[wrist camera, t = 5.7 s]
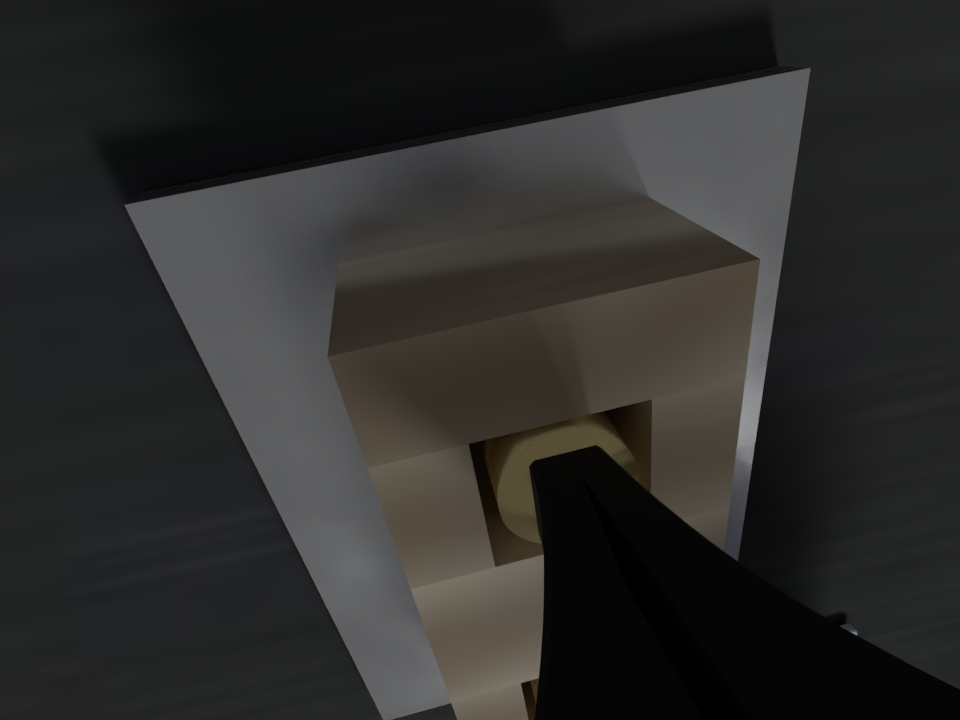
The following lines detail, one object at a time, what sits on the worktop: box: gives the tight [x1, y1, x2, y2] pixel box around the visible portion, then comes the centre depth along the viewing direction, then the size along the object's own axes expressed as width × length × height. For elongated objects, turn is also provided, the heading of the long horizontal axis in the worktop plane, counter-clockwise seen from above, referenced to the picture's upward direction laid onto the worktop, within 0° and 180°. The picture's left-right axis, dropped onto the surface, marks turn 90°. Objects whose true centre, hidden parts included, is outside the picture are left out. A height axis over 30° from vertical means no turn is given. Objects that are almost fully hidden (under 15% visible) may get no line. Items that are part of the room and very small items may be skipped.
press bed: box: [125, 66, 810, 720], centre depth 17 cm, size 20×14×1 cm
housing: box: [327, 198, 760, 720], centre depth 14 cm, size 16×7×4 cm, turn 9°
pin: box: [480, 411, 639, 544], centre depth 12 cm, size 3×3×4 cm
